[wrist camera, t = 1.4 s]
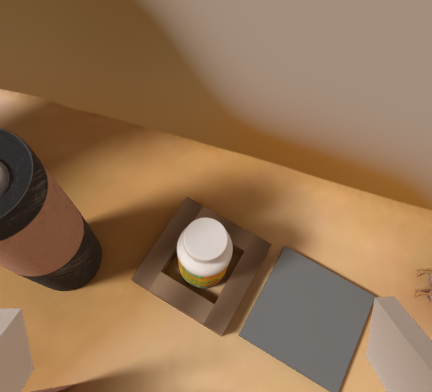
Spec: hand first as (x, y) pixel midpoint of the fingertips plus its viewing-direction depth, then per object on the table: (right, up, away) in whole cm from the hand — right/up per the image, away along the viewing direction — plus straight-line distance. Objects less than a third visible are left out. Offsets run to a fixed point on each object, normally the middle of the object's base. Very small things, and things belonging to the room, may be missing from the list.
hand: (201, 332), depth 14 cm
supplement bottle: (-1, -3, +28) cm, 28 cm away
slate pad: (+10, -8, +26) cm, 29 cm away
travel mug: (-16, -2, +27) cm, 32 cm away
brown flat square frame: (-1, -3, +28) cm, 28 cm away
